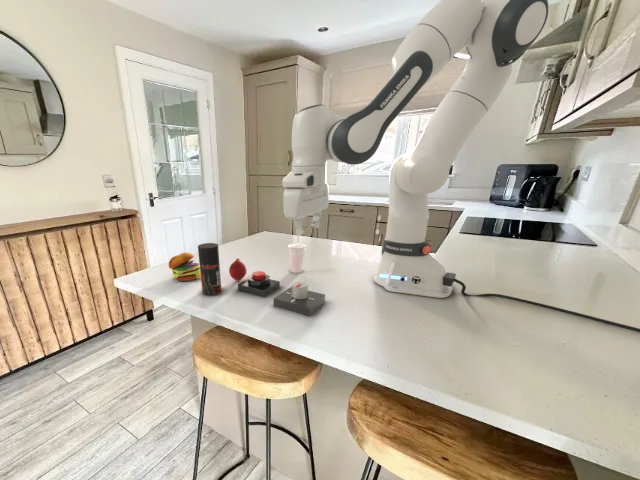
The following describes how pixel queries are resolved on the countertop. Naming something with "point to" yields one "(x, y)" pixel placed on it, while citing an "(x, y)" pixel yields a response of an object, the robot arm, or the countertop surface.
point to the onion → (237, 270)
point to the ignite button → (258, 275)
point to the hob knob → (299, 290)
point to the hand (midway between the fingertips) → (307, 230)
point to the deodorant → (209, 269)
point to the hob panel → (299, 302)
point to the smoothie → (296, 256)
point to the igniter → (259, 286)
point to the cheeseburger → (184, 267)
